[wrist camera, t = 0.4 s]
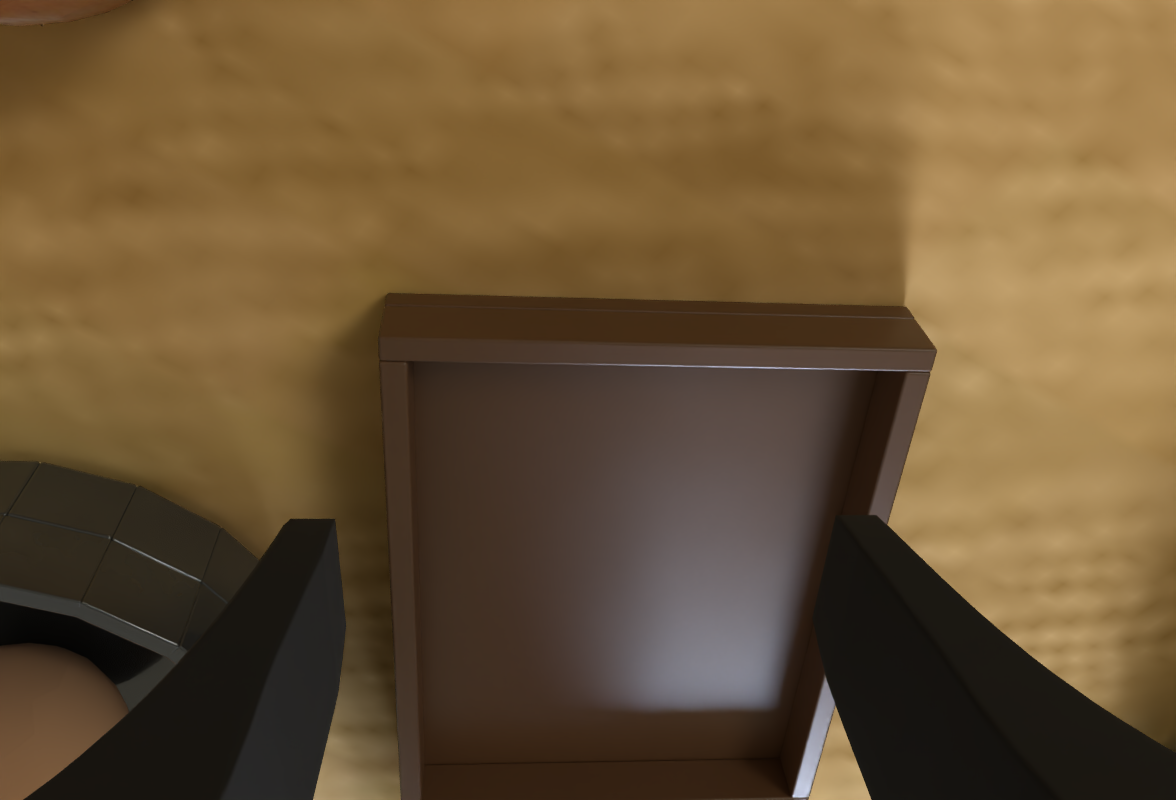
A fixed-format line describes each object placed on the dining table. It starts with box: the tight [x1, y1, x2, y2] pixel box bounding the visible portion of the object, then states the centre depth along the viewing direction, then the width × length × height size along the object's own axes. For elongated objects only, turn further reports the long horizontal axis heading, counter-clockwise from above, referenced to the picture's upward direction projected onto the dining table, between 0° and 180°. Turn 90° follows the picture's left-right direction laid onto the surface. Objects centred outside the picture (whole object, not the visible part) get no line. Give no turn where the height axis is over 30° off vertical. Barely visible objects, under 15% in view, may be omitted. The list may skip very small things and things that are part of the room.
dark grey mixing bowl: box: [0, 461, 259, 712], centre depth 27 cm, size 14×14×4 cm
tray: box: [378, 293, 937, 800], centre depth 27 cm, size 16×12×2 cm
